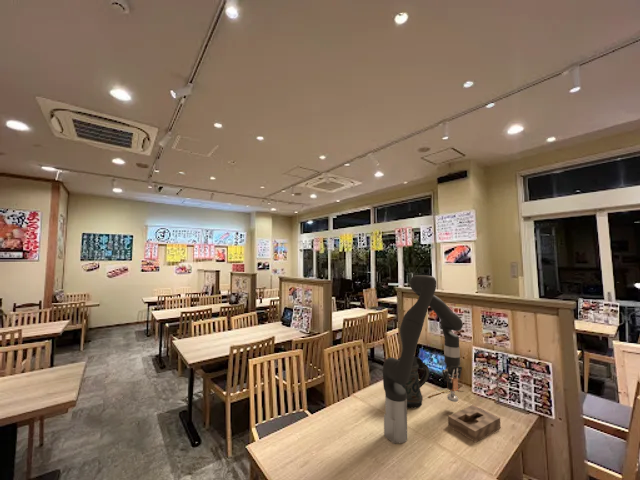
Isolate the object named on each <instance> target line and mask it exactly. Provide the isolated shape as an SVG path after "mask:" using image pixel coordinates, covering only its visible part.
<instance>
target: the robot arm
mask: <svg viewBox="0 0 640 480" xmlns="http://www.w3.org/2000/svg"><path fill="white" fill-rule="evenodd" d="M409 284H410V285H409V286H410V288H411V290H412V291H413V292H414V294H416V295H417V296H418V298H417V301H416V302H415V303H414V305H412V306H411V307H410V308H409V310H407V311H406V312H405V314H404V316H403V317H402V320H401V324H400V327H399V335H400V341H401V345H402V346H401V349H402V350H401V355H400V357H401V358H400V357H399V358H400V360H397V359H398V358H394V357H387V358H386V359H385V360H384V361H383V366H382V380H383V381H382V382H383V383H382V384H383V385H382V386H383V390H384V393H385V394H384V395H385V399H384V400H385V413H384V414H383V436H384V437H385V439H387V440H389V442H391V443H392V444H393V445H394V444H404V443H406V442H407V441H408V408H407V393H406V390H405V389H404V388H403V386H402V385H404V384H406V383H407V382H408V380H409V377H410V374H411V370H412V365H413V360H414V357H415V354H416V350H417V347H418V342H419V340H420V336H421V333H422V330H423V328H424V327H423V326H424V322H425V318H426V316H427V313H428V309H429V307H430V308H431V310H432V311H433V312H434V313H435V314H436V316H437V317H438V318H439V319H440V326H441V330H442V333H443V336H444V346H443V347H444V349H443V352H444V354H443V358H444V359H443V361H444V363H445V369H442V370H441V372H442V376H443V379H444V381H445V382H446V383H448V389H447V390H449V389H451V390H452V379H453V378H454V377H456V378H458V380H459V379H461V376H462V370H463V369H462V368H463V367H462V366H460V365H461V352H460V351H461V350H460V337H459V335H458V334H456V333H454V332H455V331H456V332H458V331H461V330H462V329H463V321H462V319H461V317H459V316H458V315H457V314H456V312H453V311H452V310H451V309H450V308H449V306H448V305H447V304H446V303H445V301H443V300H442V299H441V298H440V297H439V296H437V295H435V292H436V289H437V280H436V278H435V277H434V276H433V275H425V274H424V275H422V274H415V275H413V276H412V277H411V278H410V281H409ZM453 331H454V332H453ZM449 377H450V378H449Z"/></svg>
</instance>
